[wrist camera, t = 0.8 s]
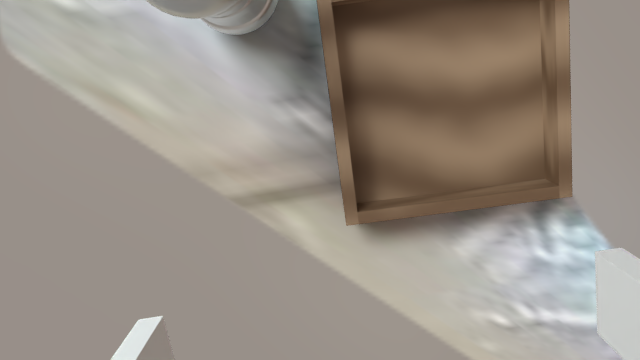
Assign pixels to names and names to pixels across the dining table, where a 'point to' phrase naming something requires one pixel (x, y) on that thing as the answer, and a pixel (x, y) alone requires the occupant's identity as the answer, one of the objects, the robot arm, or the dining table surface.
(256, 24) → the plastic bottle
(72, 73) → the dining table surface
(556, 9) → the walnut tray
